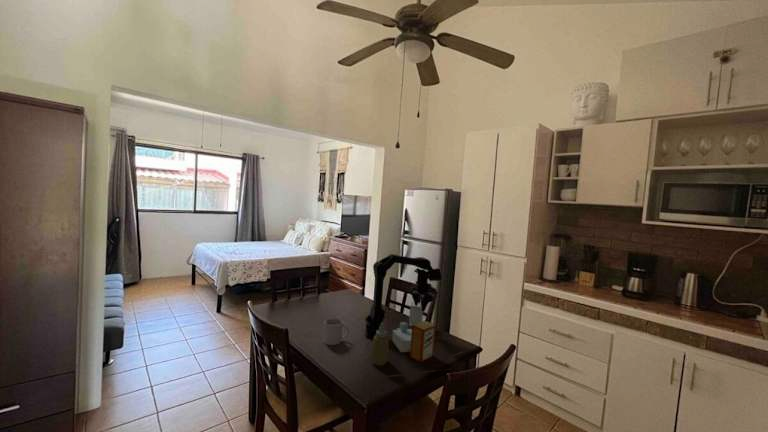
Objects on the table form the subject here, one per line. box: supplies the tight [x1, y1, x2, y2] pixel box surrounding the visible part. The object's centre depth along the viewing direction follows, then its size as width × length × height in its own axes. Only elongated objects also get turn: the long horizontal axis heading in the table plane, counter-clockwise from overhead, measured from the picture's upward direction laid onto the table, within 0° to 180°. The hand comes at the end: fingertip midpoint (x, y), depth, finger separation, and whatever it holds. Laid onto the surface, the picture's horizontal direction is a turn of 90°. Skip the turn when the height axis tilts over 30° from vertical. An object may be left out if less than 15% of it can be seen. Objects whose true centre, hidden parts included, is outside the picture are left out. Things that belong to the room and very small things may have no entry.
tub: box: [392, 332, 411, 353], centre depth 155 cm, size 10×12×5 cm
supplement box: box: [408, 301, 424, 328], centre depth 182 cm, size 7×7×13 cm
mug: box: [323, 318, 349, 346], centre depth 154 cm, size 11×10×10 cm
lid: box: [392, 321, 412, 343], centre depth 155 cm, size 10×14×5 cm
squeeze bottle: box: [370, 322, 390, 367], centre depth 137 cm, size 8×8×18 cm
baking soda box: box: [409, 320, 437, 363], centre depth 145 cm, size 10×6×16 cm
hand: (419, 308), depth 171 cm, fingers open, 9 cm apart
